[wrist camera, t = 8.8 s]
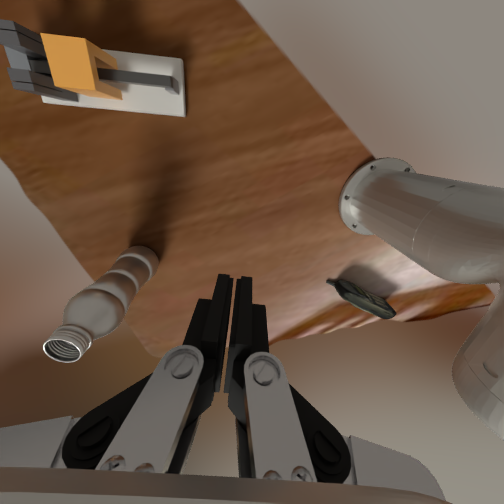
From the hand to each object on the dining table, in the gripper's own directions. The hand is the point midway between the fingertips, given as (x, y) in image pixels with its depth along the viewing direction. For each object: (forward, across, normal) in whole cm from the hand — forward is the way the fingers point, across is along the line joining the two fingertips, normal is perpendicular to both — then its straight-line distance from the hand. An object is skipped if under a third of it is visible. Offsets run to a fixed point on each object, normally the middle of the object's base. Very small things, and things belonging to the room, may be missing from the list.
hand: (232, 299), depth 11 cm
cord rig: (+26, +19, -12) cm, 34 cm away
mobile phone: (+28, -26, +18) cm, 42 cm away
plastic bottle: (+26, +18, +14) cm, 35 cm away
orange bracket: (+24, +19, -12) cm, 33 cm away
